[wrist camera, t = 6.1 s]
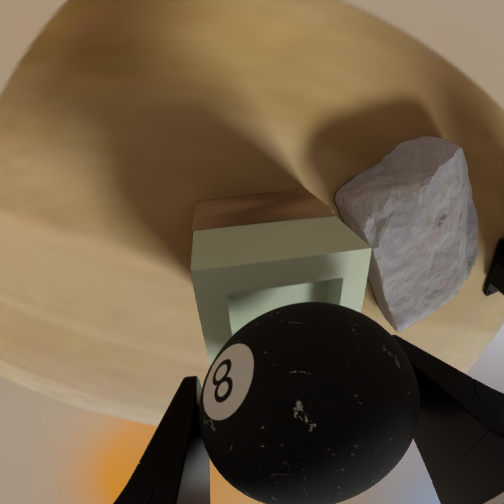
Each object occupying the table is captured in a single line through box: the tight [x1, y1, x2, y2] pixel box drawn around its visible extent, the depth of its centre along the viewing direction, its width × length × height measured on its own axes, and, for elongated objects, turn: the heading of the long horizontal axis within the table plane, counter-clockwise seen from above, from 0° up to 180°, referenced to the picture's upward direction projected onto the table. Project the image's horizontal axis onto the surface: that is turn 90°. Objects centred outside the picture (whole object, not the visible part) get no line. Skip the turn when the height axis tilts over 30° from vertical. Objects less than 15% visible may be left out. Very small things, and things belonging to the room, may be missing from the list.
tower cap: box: [190, 216, 372, 366], centre depth 12 cm, size 6×6×3 cm
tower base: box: [192, 189, 334, 234], centre depth 15 cm, size 6×6×4 cm
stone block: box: [335, 136, 479, 332], centre depth 17 cm, size 12×5×10 cm
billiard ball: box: [199, 302, 420, 504], centre depth 7 cm, size 6×6×6 cm
